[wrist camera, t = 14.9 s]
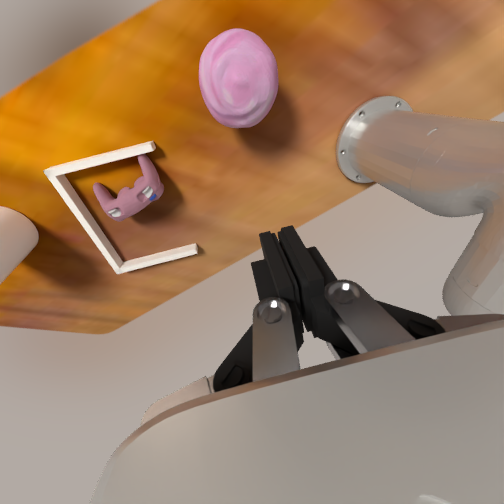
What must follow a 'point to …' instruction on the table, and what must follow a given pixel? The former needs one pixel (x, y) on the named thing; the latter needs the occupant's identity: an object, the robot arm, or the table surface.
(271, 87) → the cupcake
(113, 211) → the video game controller
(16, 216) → the candle holder
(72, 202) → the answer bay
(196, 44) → the table surface
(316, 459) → the robot arm
